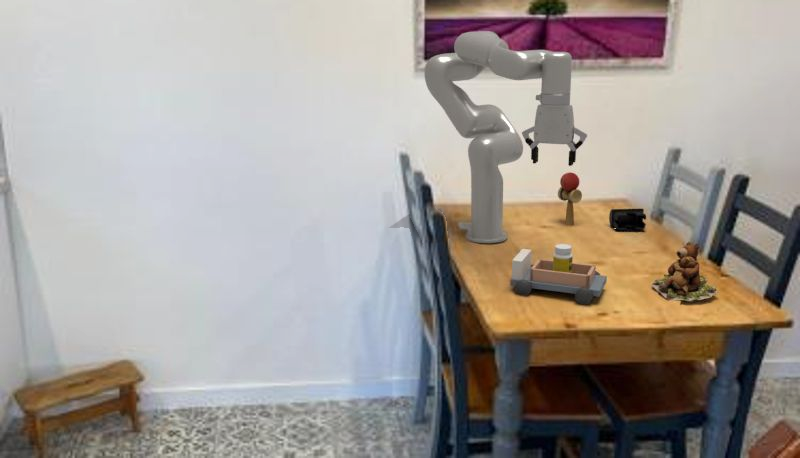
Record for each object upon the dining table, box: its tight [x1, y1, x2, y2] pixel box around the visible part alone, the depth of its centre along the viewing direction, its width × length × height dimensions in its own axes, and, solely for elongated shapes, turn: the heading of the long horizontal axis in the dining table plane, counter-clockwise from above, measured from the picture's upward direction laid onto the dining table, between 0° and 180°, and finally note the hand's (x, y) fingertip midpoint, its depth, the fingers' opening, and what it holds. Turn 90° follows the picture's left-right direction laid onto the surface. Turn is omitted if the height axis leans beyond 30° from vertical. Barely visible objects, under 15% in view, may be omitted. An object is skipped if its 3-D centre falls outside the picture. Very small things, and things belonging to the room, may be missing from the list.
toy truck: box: [509, 248, 608, 306], centre depth 194 cm, size 22×14×8 cm, turn 67°
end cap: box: [608, 208, 647, 233], centre depth 244 cm, size 10×7×7 cm
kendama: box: [557, 172, 583, 227], centre depth 247 cm, size 8×6×18 cm
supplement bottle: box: [552, 243, 574, 273], centre depth 193 cm, size 5×5×8 cm
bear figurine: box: [651, 241, 719, 303], centre depth 192 cm, size 14×15×12 cm
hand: (553, 163), depth 208 cm, fingers open, 9 cm apart
